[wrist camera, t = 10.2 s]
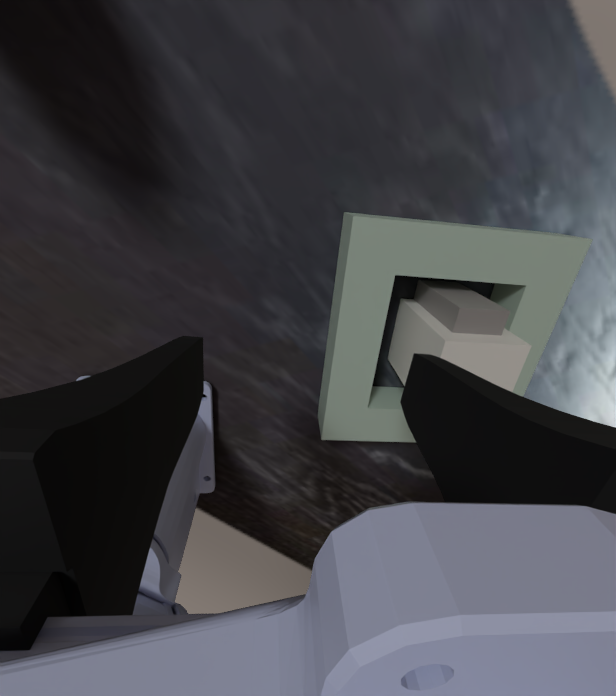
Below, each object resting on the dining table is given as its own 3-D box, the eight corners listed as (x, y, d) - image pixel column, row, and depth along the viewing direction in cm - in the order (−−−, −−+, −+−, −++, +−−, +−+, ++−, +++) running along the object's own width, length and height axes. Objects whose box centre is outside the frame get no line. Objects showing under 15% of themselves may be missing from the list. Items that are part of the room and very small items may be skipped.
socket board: (481, 420, 24) (501, 444, 22) (317, 415, 23) (321, 439, 21) (555, 233, 19) (593, 239, 16) (344, 212, 17) (353, 216, 15)
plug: (446, 361, 22) (501, 418, 16) (387, 358, 21) (423, 416, 16) (470, 283, 20) (542, 320, 14) (404, 278, 19) (453, 314, 14)
